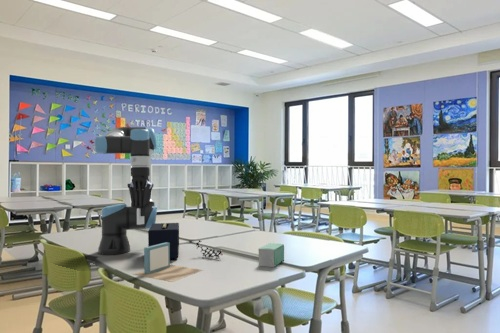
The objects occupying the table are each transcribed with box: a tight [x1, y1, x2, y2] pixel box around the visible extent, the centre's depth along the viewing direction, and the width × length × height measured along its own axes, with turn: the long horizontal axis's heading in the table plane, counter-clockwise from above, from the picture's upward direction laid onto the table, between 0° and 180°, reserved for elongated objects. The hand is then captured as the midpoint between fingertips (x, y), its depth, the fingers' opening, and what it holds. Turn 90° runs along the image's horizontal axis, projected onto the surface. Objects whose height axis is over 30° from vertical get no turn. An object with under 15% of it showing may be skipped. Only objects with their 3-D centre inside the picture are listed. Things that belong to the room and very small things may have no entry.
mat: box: [133, 264, 204, 283], centre depth 151 cm, size 20×18×1 cm
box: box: [258, 242, 285, 268], centre depth 167 cm, size 7×14×8 cm, turn 157°
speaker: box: [147, 222, 180, 261], centre depth 180 cm, size 22×13×15 cm, turn 9°
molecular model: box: [194, 238, 224, 259], centre depth 177 cm, size 6×15×8 cm, turn 61°
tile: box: [143, 242, 171, 274], centre depth 154 cm, size 2×12×10 cm, turn 149°
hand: (140, 224), depth 158 cm, fingers closed
